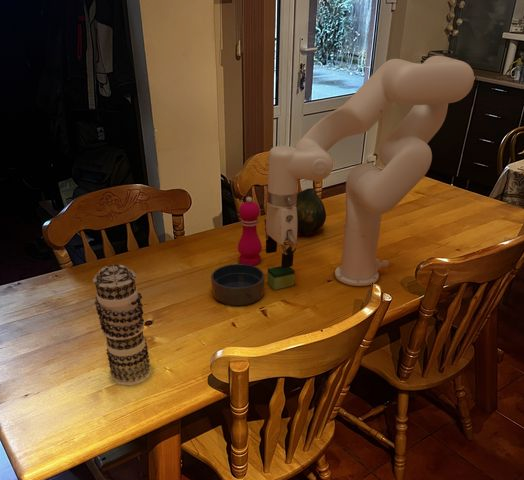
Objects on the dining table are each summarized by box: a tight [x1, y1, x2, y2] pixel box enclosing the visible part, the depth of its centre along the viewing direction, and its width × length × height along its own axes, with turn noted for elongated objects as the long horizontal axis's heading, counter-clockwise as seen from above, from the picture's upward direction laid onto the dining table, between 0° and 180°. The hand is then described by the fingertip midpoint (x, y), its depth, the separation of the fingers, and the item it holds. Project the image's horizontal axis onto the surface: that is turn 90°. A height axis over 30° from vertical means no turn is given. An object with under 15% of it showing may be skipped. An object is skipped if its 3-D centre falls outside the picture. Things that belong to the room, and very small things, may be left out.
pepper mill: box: [237, 196, 263, 266], centre depth 156 cm, size 7×7×20 cm
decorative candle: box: [92, 264, 152, 386], centre depth 109 cm, size 9×9×25 cm
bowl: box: [210, 263, 265, 307], centre depth 144 cm, size 14×14×6 cm
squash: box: [296, 187, 327, 236], centre depth 178 cm, size 14×15×15 cm
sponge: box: [267, 265, 296, 290], centre depth 149 cm, size 6×4×4 cm
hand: (278, 259), depth 146 cm, fingers open, 9 cm apart
